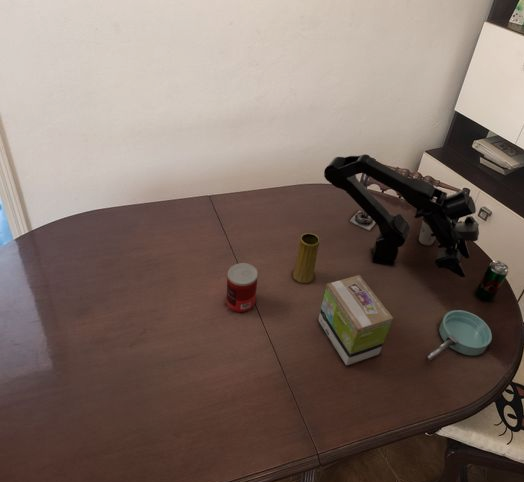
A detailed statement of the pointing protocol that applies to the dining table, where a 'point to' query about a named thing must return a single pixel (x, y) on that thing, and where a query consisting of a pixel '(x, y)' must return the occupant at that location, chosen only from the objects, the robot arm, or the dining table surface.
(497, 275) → the soda can
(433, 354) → the pan handle
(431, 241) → the coffee cup
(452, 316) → the pan
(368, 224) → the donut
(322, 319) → the tea box
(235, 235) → the dining table surface
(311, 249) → the vase
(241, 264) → the canned food
